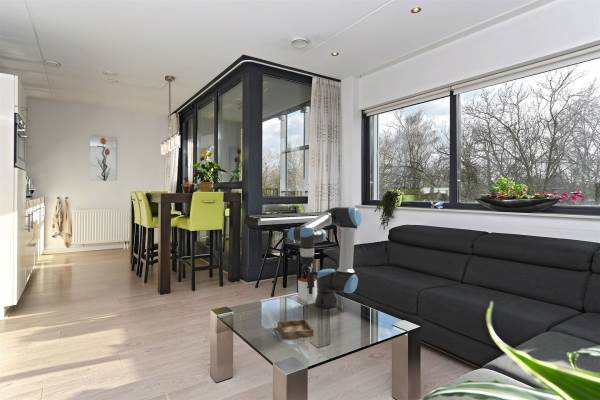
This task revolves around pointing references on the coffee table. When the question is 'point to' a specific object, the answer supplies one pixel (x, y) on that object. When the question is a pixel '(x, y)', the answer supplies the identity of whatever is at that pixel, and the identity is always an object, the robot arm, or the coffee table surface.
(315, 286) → the cup
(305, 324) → the wooden tray
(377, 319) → the coffee table surface
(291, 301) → the coffee table surface
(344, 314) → the coffee table surface
